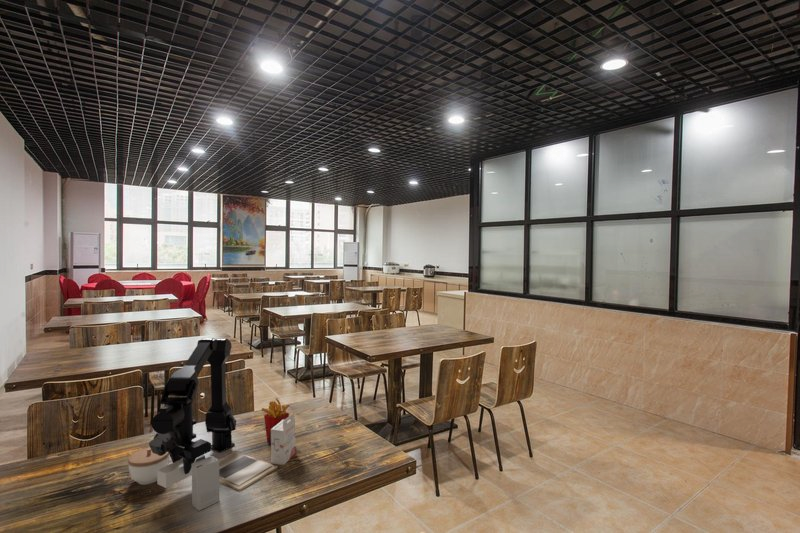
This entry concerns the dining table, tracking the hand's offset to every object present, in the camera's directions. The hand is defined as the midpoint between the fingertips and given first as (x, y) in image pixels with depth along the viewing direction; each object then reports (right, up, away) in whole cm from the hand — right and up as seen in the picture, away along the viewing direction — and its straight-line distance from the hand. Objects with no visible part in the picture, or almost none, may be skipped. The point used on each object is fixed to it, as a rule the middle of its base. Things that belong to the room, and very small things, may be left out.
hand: (182, 471), depth 119 cm
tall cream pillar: (0, -1, 0) cm, 1 cm away
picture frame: (+11, -6, +12) cm, 18 cm away
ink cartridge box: (+24, -6, +20) cm, 32 cm away
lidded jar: (-14, -6, +7) cm, 16 cm away
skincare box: (+9, -7, -5) cm, 13 cm away
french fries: (+16, -5, +34) cm, 38 cm away
